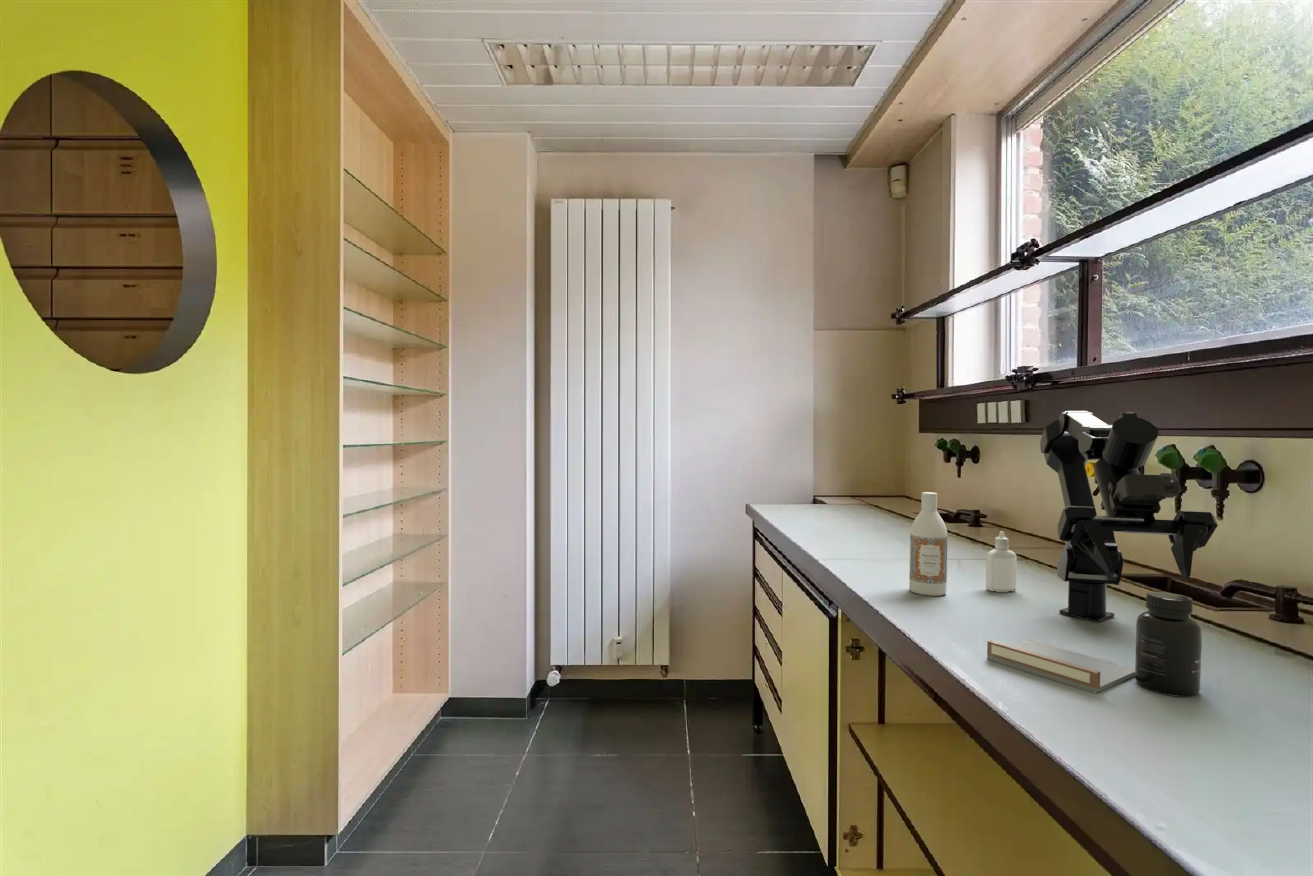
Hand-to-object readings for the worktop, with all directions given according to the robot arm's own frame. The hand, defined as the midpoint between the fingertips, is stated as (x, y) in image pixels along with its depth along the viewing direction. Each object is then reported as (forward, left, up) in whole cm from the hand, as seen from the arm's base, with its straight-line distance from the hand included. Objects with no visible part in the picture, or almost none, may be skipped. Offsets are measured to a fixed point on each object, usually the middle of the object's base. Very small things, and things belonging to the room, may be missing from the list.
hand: (1148, 575), depth 94 cm
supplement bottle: (+5, +4, -13) cm, 15 cm away
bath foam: (-11, -42, -13) cm, 45 cm away
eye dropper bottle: (-25, -35, -13) cm, 45 cm away
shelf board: (+9, -7, -13) cm, 17 cm away
